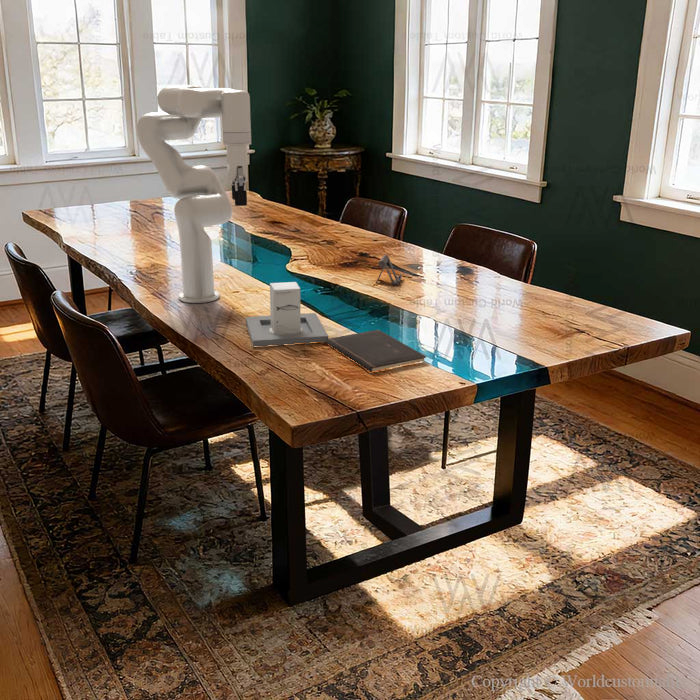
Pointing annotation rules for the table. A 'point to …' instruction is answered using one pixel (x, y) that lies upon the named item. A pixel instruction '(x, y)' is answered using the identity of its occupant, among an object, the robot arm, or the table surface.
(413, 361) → the hardcover book
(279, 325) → the supplement box
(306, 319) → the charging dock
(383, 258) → the portable electronic device stand
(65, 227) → the table surface
